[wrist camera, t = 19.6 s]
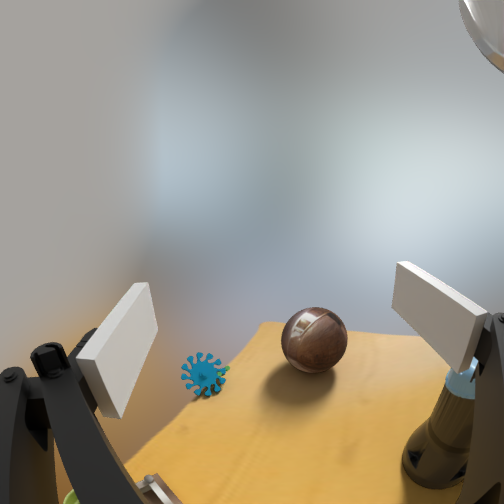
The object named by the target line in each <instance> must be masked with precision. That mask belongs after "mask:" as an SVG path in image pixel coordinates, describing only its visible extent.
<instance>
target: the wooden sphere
mask: <svg viewBox="0 0 504 504" xmlns="http://www.w3.org/2000/svg"><path fill="white" fill-rule="evenodd" d="M281 344H282V350H283V353H284V355H285V357H286V358H287V360H288V361H289V362H290V363H291V364H292V365H293V366H294V367H296V368H297V369H299V370H301V371H305V372H310V373H317V372H322V371H325V370H328V369H330V368H331V367H333V366H334V365H335V364H337V363H338V362H339V360H340V359H341V358H342V356H343V355H344V353H345V350H346V347H347V331H346V328H345V325H344V324H343V322H342V320H341V319H340V318H339V317H338V316H337V315H336V314H335V313H333V312H331V311H329V310H327V309H324V308H319V307H312V308H307V309H304V310H301V311H299V312H298V313H296V314H295V315H294V316H292V317H291V318H290V319H289V321H288V322H287V323H286V325H285V327H284V329H283V332H282V338H281Z"/></svg>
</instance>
